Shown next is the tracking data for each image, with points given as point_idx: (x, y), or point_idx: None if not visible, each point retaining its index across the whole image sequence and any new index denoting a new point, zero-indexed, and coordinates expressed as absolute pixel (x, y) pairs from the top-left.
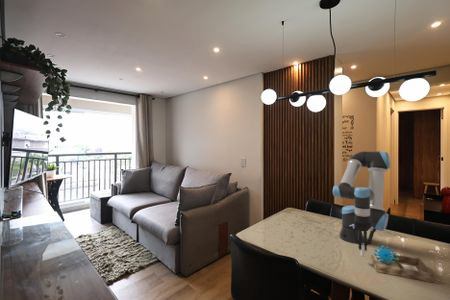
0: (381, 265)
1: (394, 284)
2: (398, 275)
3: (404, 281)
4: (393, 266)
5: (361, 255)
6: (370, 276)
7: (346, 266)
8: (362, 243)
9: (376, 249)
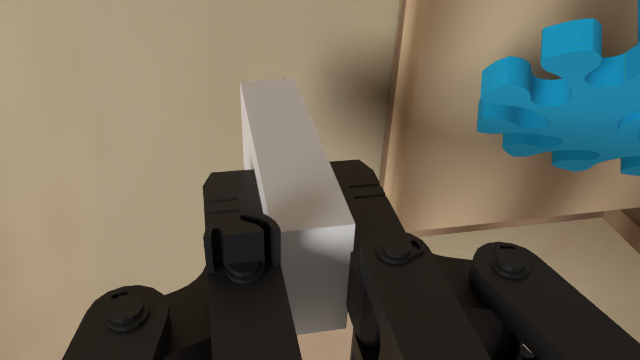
0: (470, 204)
1: None
2: (568, 215)
3: (564, 271)
4: (608, 163)
5: (244, 164)
6: None
7: (31, 266)
8: (320, 238)
9: (599, 59)
